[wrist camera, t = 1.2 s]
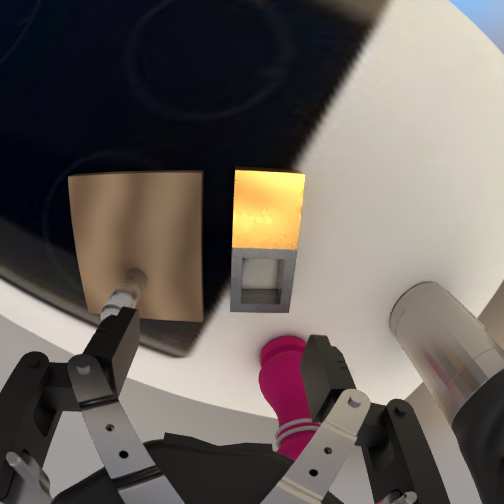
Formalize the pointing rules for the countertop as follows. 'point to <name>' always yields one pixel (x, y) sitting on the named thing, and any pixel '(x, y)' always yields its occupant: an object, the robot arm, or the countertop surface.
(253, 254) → the link
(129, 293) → the post
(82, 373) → the robot arm
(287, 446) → the pepper mill
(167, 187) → the board
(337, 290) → the countertop surface
